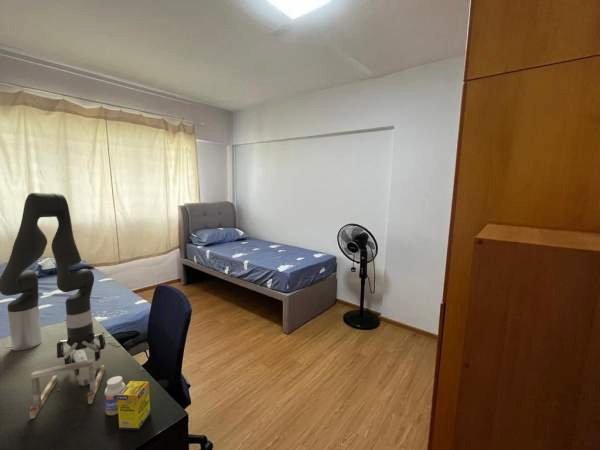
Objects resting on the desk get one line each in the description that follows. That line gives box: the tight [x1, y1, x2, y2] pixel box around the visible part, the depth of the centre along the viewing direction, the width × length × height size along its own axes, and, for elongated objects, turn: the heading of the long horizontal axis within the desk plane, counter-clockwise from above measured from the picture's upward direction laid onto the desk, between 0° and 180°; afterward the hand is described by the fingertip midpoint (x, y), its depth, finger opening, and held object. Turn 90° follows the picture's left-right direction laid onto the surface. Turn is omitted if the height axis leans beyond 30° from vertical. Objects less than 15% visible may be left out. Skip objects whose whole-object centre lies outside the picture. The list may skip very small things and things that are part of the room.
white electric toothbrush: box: [71, 349, 97, 386], centre depth 103 cm, size 5×7×25 cm
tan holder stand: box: [29, 358, 106, 420], centre depth 91 cm, size 18×16×12 cm
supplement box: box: [117, 380, 151, 431], centre depth 79 cm, size 6×6×11 cm
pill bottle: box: [104, 375, 126, 416], centre depth 84 cm, size 5×5×10 cm
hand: (83, 362), depth 103 cm, fingers open, 8 cm apart
